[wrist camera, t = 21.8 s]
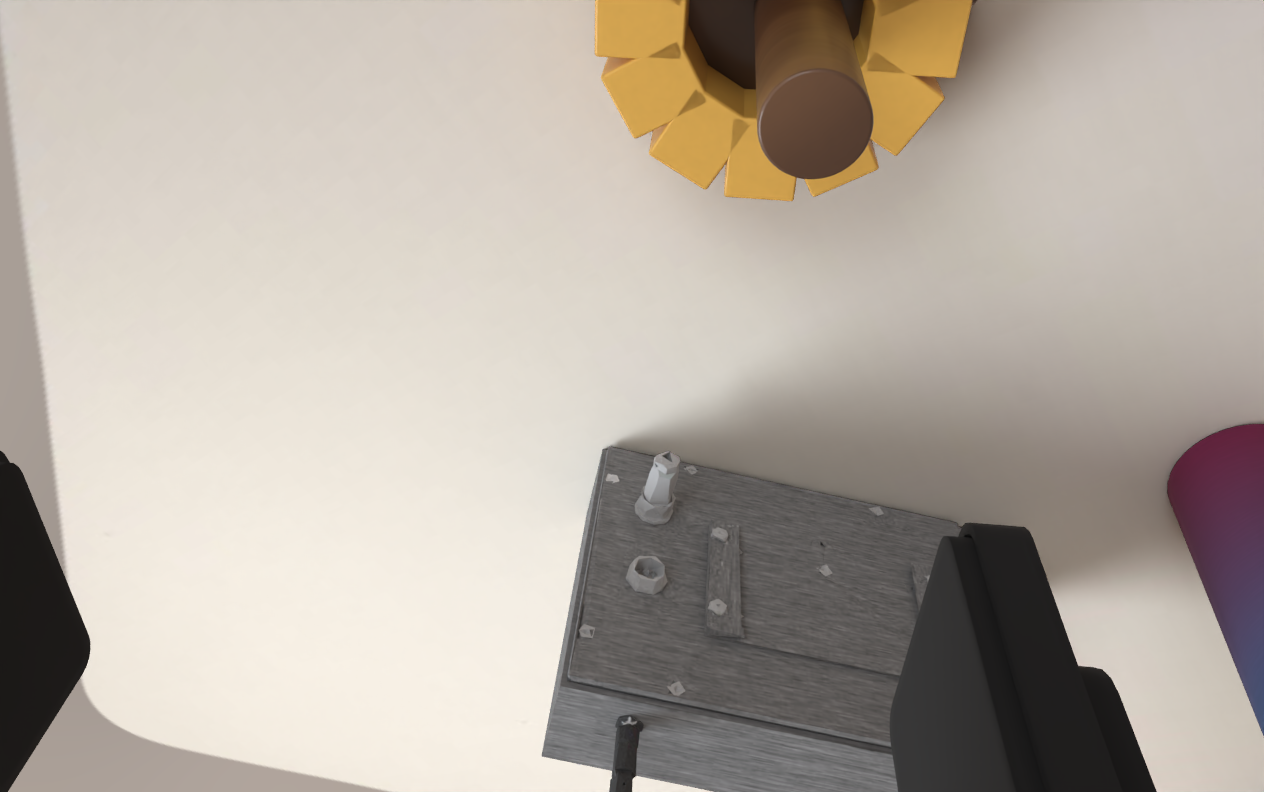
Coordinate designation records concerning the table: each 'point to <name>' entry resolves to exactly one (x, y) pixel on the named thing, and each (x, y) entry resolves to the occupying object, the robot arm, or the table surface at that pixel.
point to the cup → (1228, 540)
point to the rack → (793, 76)
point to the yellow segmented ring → (726, 113)
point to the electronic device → (736, 631)
